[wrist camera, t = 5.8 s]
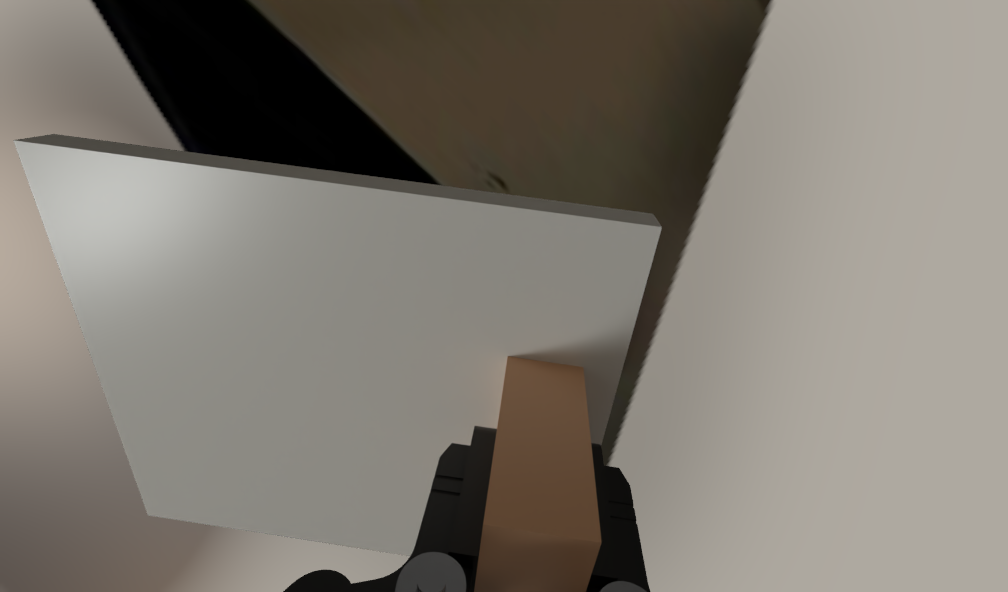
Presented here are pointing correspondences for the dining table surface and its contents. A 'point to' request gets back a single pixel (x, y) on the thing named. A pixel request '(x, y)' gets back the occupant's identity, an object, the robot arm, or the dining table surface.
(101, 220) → the lid
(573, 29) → the dining table surface
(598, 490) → the robot arm
